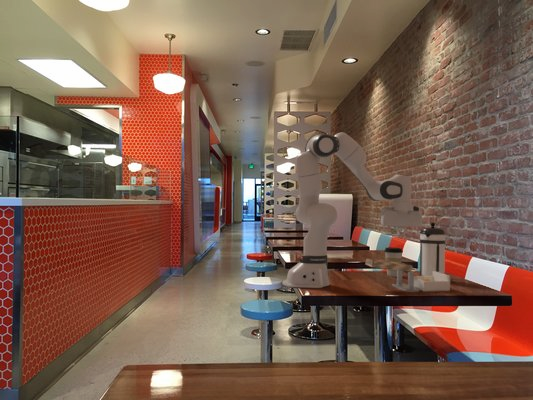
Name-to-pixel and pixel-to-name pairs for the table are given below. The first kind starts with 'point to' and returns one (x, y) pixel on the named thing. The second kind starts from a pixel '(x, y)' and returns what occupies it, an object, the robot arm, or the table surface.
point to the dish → (433, 282)
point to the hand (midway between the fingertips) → (400, 235)
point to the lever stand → (404, 286)
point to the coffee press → (432, 250)
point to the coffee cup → (393, 258)
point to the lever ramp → (389, 265)
